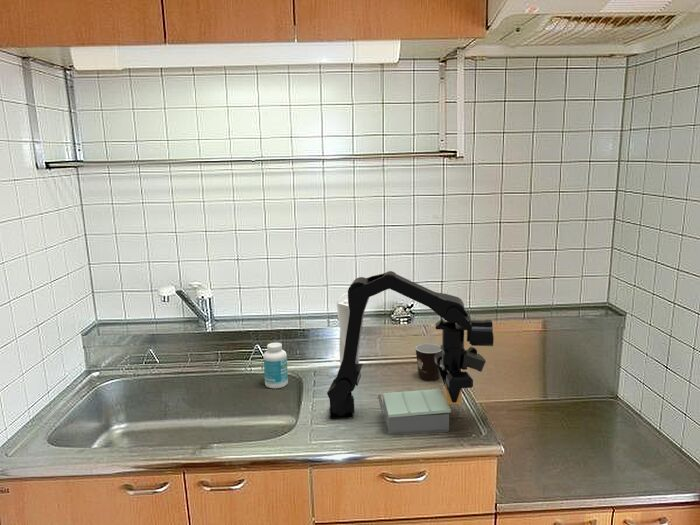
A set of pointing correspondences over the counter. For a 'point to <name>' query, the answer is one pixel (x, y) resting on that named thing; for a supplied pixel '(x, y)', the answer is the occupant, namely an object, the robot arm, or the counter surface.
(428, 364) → the coffee mug
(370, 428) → the counter surface
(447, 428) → the parts tub
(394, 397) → the lid
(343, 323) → the skyscraper
